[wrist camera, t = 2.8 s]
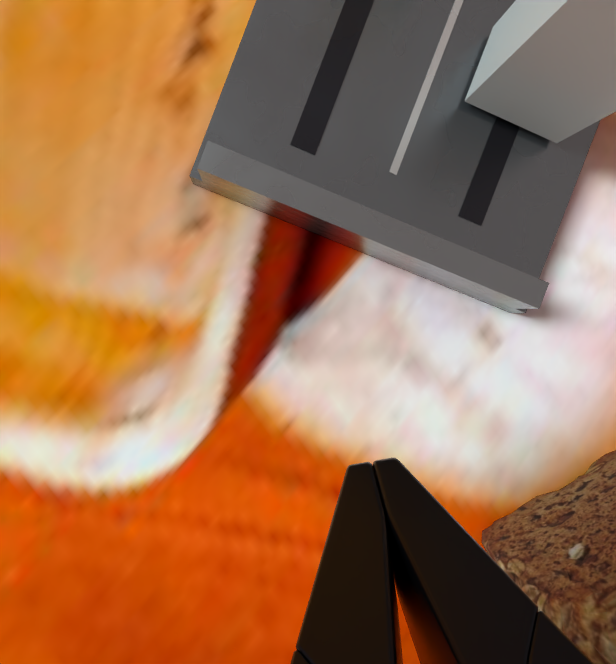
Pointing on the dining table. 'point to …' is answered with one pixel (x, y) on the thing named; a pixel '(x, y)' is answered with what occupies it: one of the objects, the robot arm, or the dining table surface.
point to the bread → (567, 557)
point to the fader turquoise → (550, 66)
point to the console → (391, 142)
